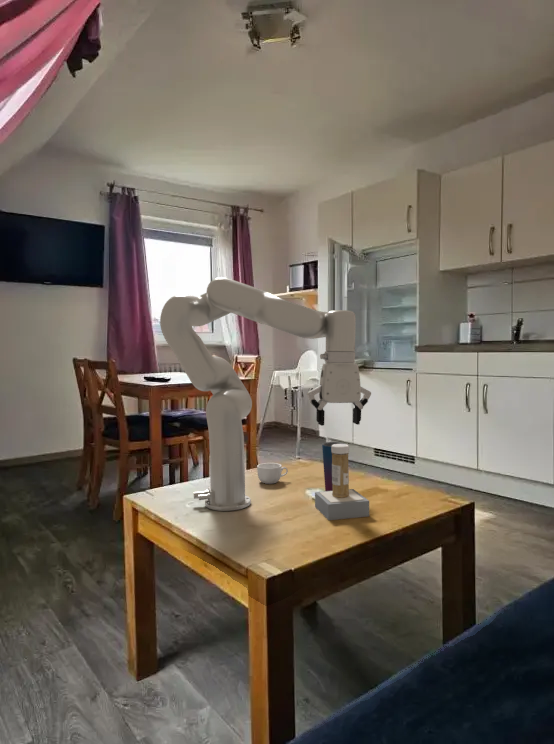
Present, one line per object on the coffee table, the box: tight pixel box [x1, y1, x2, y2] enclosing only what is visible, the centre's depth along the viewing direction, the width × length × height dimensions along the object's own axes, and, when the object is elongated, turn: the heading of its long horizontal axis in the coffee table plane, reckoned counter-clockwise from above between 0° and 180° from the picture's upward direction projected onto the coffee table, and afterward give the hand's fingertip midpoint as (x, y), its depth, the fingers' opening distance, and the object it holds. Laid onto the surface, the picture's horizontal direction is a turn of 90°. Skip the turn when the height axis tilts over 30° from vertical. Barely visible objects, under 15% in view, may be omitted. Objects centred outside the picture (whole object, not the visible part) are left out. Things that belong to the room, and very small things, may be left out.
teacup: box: [256, 462, 289, 485], centre depth 164 cm, size 10×8×5 cm
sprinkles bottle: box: [331, 443, 350, 498], centre depth 134 cm, size 5×5×14 cm
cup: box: [321, 441, 346, 491], centre depth 149 cm, size 7×7×15 cm
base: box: [314, 488, 370, 521], centre depth 135 cm, size 11×11×4 cm
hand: (338, 424), depth 134 cm, fingers open, 9 cm apart
